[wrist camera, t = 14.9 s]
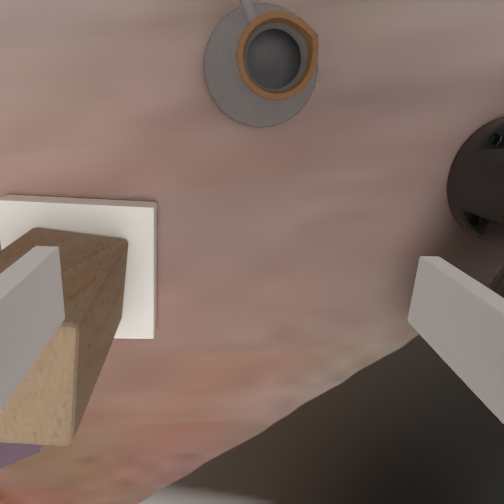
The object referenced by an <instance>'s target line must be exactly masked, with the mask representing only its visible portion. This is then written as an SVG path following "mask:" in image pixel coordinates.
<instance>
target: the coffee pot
mask: <svg viewBox="0 0 504 504" xmlns="http://www.w3.org/2000/svg"><path fill="white" fill-rule="evenodd" d="M240 2H241V4H242V7H241V8H238V9H236V10H234V11H233V12H231V13H230V14H229V15H227V16H226V17H225V18H223V19H222V20H221V22H220V23H219V24H218V26H217V27H216V28H215V30H214V31H213V32H212V35H211V37H210V40H209V42H208V45H207V47H206V53H205V61H204V69H205V78H206V83H207V85H208V88H209V91H210V94H211V96H212V98H213V99H214V100H215V102H216V103H217V105H218V106H219V108H220V109H221V110H222V111H223V112H224V113H226V114H227V115H228V116H229V117H230V118H231V119H233V120H235V121H237V122H239V123H242V124H244V125H247V126H253V127H258V128H259V127H270V126H275V125H277V124H280V123H283V122H285V121H287V120H289V119H290V118H291V117H293V116H294V115H295V114H297V113H298V112H299V111H300V110H301V108H302V107H303V106H304V105H305V104H306V102H307V101H308V99H309V97H310V95H311V93H312V91H313V89H314V87H315V82H316V77H317V72H318V63H317V56H318V35H317V34H316V33H315V32H314V31H313V29H312V28H311V27H310V26H309V25H307V24H306V23H305V22H304V21H303V20H301V19H300V18H298V17H296V16H295V15H294V14H293V13H291V12H289V11H287V10H286V9H284V8H282V7H280V6H276V5H272V4H267V3H259V4H253V3H252V0H240Z"/></svg>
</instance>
